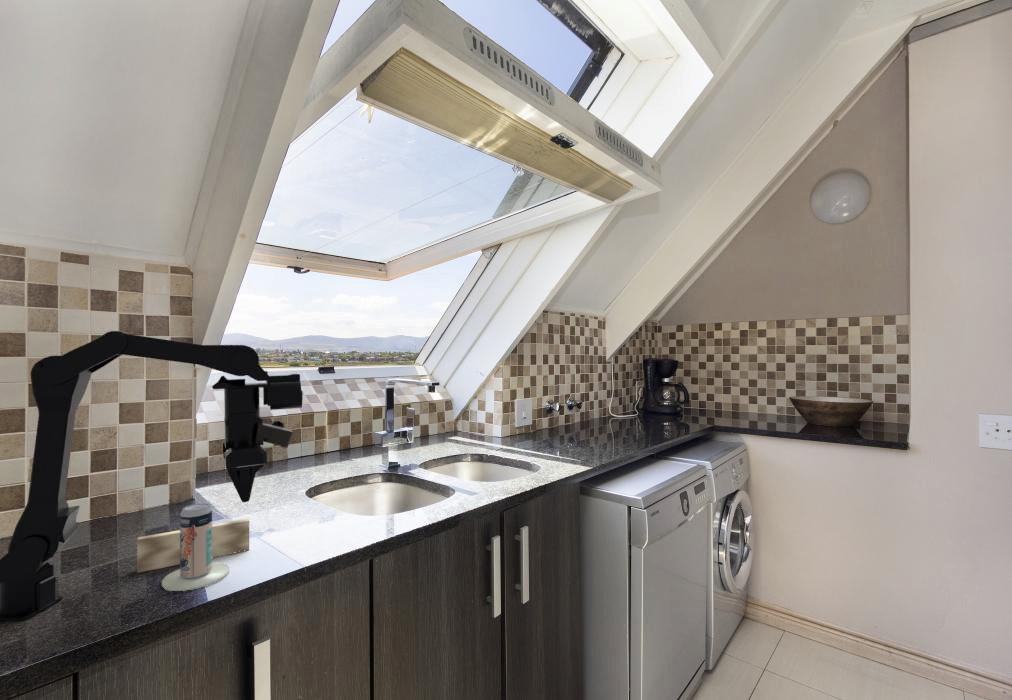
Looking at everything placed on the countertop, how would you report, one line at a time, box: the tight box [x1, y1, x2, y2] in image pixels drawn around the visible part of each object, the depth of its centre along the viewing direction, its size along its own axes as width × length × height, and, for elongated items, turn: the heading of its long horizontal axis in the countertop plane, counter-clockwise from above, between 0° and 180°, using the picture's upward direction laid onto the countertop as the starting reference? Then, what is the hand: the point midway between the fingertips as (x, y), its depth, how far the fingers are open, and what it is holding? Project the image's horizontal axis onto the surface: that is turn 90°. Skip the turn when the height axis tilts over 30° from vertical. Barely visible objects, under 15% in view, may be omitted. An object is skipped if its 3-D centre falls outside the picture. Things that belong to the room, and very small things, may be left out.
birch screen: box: [136, 518, 250, 574], centre depth 91 cm, size 18×2×6 cm, turn 123°
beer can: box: [179, 502, 213, 579], centre depth 84 cm, size 5×5×12 cm
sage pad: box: [161, 561, 230, 592], centre depth 84 cm, size 10×10×1 cm
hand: (243, 495), depth 88 cm, fingers open, 9 cm apart
